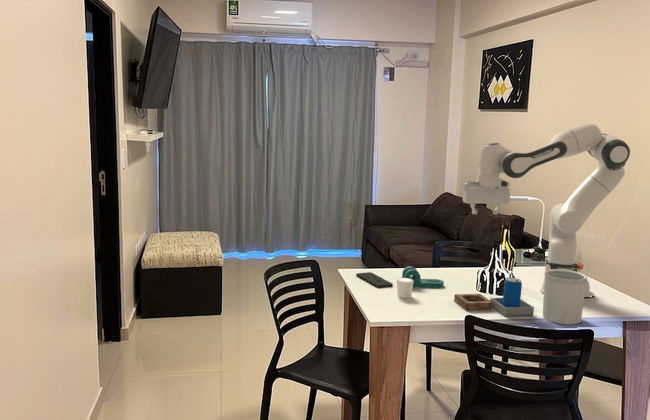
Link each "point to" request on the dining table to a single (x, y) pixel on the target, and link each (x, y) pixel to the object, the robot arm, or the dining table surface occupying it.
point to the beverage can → (512, 292)
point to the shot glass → (404, 287)
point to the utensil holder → (564, 296)
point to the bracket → (421, 282)
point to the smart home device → (374, 280)
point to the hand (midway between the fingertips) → (484, 214)
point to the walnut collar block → (473, 302)
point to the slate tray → (512, 308)
